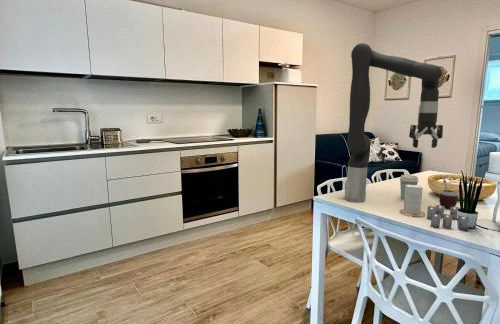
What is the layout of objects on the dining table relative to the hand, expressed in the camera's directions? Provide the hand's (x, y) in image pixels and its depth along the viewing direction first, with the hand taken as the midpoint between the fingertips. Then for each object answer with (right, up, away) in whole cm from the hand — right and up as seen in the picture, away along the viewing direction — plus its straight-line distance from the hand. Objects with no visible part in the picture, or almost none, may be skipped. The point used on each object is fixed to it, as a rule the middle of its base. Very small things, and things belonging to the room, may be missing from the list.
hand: (424, 147), depth 144 cm
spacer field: (+1, -31, -17) cm, 36 cm away
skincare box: (-9, -29, -6) cm, 31 cm away
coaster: (-9, -29, -6) cm, 31 cm away
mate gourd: (+12, -28, +3) cm, 31 cm away
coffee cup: (0, -26, +17) cm, 31 cm away
